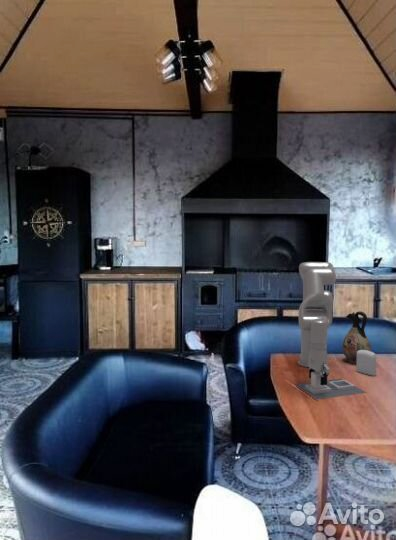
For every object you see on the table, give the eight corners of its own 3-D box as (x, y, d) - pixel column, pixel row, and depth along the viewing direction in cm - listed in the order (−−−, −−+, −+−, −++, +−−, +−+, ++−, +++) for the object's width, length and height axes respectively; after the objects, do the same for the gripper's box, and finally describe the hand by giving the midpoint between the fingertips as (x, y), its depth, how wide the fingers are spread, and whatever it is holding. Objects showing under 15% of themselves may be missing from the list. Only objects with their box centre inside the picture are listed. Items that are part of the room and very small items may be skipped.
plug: (310, 388, 206) (311, 372, 205) (321, 387, 207) (321, 370, 207) (315, 391, 202) (315, 374, 201) (326, 390, 204) (326, 373, 203)
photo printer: (354, 371, 232) (355, 349, 231) (359, 370, 235) (359, 347, 234) (373, 376, 224) (373, 353, 223) (377, 374, 227) (377, 351, 226)
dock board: (294, 386, 212) (294, 381, 212) (340, 380, 220) (340, 375, 219) (317, 401, 193) (317, 396, 193) (366, 394, 201) (366, 389, 200)
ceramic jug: (336, 361, 251) (337, 310, 248) (351, 356, 261) (352, 306, 258) (362, 368, 238) (364, 314, 235) (378, 362, 247) (379, 311, 244)
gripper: (301, 341, 210) (301, 376, 211) (321, 351, 193) (321, 388, 195) (315, 340, 212) (314, 374, 213) (336, 350, 195) (335, 386, 197)
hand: (317, 381), depth 204 cm, fingers open, 9 cm apart
